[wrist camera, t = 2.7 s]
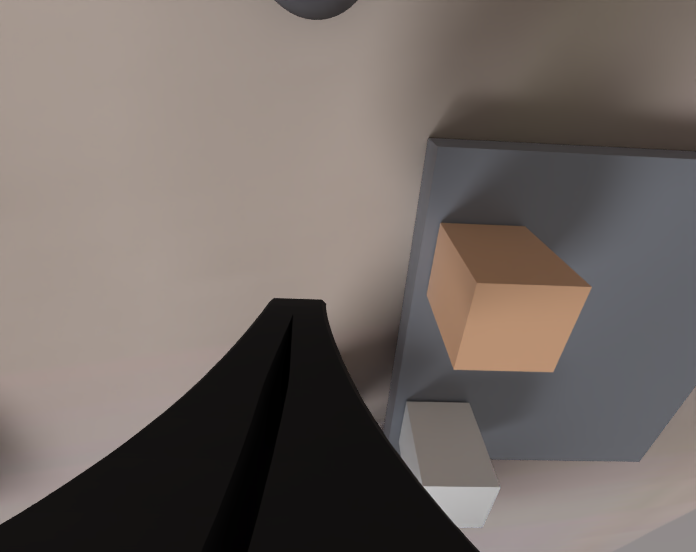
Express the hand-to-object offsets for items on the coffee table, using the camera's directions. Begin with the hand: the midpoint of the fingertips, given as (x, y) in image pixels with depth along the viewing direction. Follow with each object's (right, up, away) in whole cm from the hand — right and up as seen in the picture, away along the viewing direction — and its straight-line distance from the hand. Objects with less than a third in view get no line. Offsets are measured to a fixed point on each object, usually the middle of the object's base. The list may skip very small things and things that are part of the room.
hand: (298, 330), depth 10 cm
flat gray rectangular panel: (+11, -1, +8) cm, 13 cm away
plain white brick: (+5, -6, +9) cm, 12 cm away
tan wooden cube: (+6, +2, +4) cm, 7 cm away
